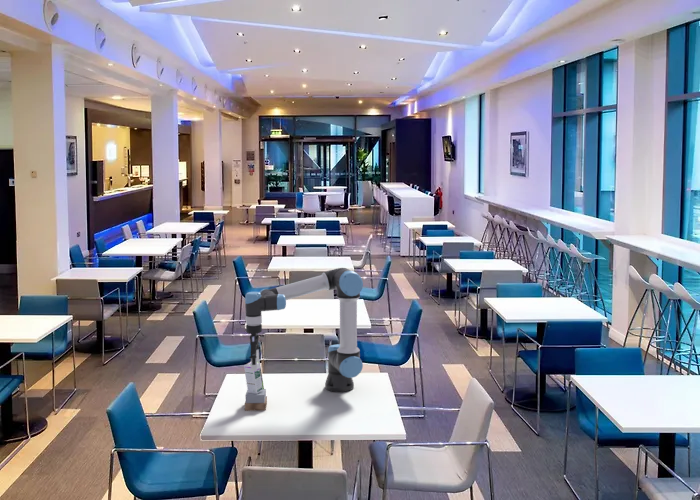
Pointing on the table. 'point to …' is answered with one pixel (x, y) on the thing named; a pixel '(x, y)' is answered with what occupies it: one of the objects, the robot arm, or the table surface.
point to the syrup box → (254, 378)
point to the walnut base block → (256, 406)
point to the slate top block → (256, 397)
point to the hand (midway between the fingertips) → (255, 366)
